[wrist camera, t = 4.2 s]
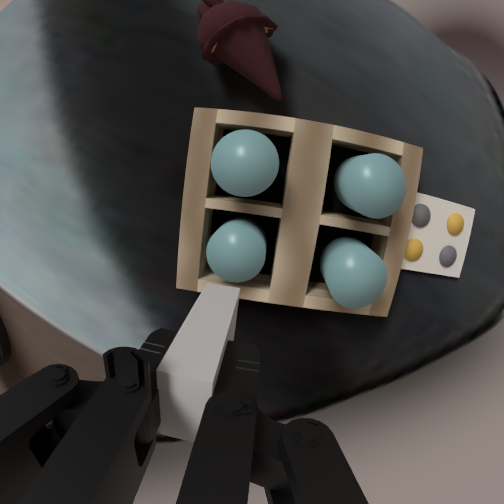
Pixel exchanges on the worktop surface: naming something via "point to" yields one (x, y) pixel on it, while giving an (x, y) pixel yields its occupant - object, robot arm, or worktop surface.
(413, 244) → the card
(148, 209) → the worktop surface
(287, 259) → the wooden compartment tray
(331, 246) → the teal domed cylinder
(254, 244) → the teal rounded lump
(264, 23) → the icecream
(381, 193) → the teal blunt tapered piece
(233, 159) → the teal blunt egg shape
